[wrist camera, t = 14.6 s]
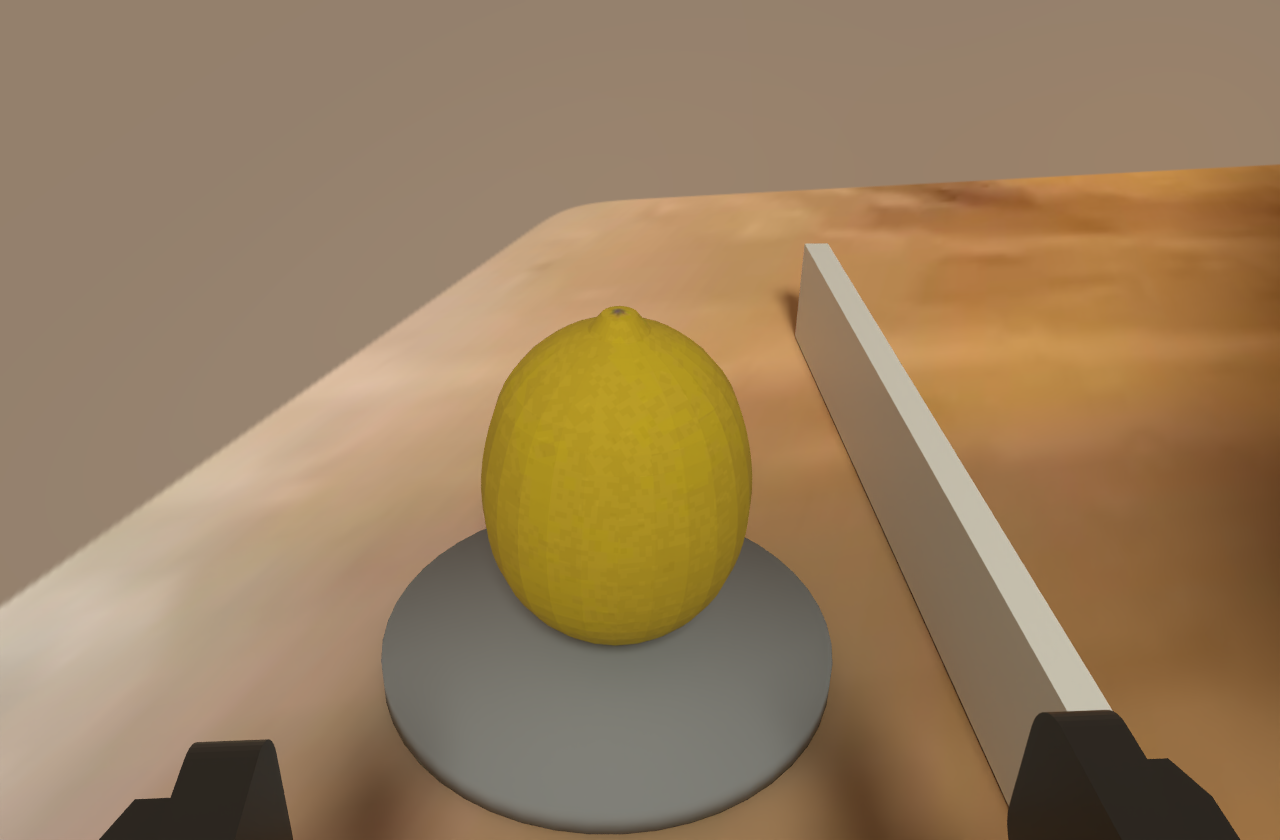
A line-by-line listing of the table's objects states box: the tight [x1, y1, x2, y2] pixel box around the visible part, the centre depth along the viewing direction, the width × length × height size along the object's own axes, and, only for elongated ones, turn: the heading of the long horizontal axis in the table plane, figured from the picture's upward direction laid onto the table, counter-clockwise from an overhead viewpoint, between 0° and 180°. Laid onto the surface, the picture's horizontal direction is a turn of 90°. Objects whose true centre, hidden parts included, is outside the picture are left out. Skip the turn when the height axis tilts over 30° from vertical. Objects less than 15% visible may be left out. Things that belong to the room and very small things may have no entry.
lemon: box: [481, 306, 752, 646], centre depth 23 cm, size 6×6×8 cm
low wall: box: [795, 244, 1112, 806], centre depth 29 cm, size 1×24×4 cm, turn 4°
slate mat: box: [381, 529, 832, 834], centre depth 25 cm, size 10×10×1 cm
